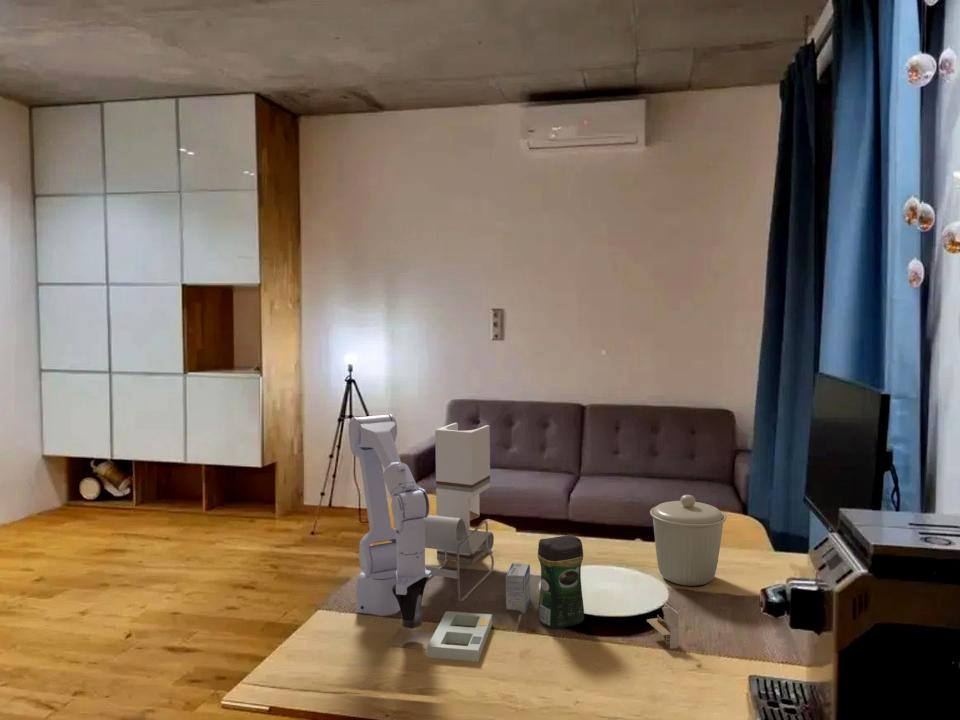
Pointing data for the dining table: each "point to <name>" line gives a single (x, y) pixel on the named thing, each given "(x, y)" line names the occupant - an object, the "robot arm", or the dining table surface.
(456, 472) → the tall white box
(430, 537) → the chair
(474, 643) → the port box
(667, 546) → the canister
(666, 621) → the architectural model
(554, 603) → the coffee jar
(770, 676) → the dining table surface
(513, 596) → the medicine box
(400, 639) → the brown square tile
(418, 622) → the plug
